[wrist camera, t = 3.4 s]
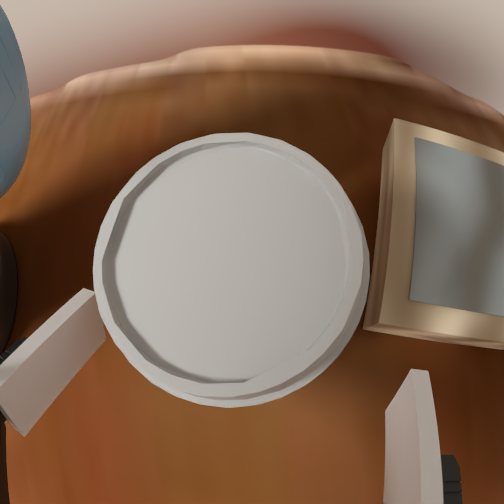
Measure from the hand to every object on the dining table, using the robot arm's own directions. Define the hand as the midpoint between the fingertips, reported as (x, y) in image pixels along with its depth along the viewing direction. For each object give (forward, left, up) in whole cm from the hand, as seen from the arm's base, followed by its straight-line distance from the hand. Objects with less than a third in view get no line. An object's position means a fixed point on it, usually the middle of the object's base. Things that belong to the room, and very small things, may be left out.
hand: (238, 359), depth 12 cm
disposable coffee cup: (-1, +3, -8) cm, 9 cm away
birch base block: (+13, +10, -8) cm, 18 cm away
